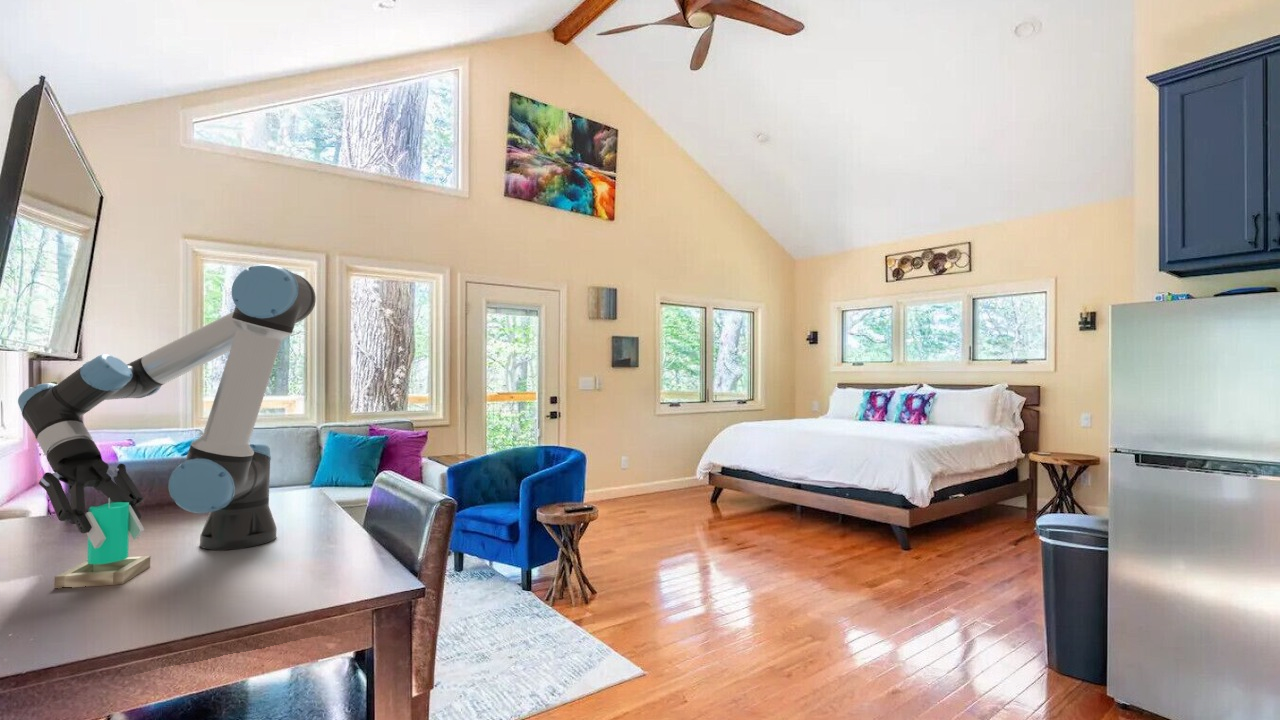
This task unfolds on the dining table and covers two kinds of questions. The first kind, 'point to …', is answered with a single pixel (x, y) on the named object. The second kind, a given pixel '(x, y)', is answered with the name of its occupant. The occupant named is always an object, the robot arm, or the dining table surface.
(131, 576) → the holder collar
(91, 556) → the candle
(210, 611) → the dining table surface
